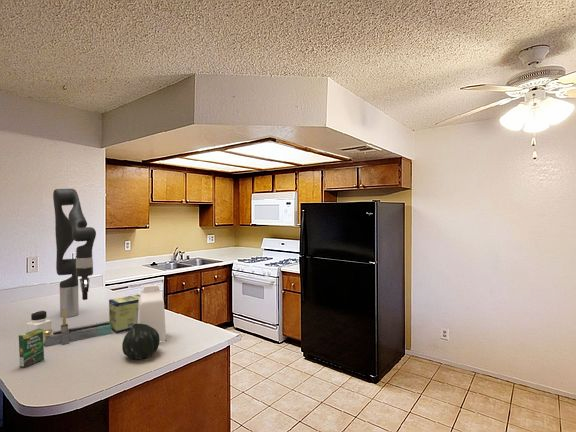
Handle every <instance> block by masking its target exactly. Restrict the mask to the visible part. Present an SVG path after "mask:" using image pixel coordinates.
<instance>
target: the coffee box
mask: <svg viewBox="0 0 576 432" xmlns="http://www.w3.org/2000/svg"><path fill="white" fill-rule="evenodd" d="M44 346H45V345H44V337H43V329H40V328H38V329H36V330H33V331H30V332H27V331H26V332H25V333H22V334H18V350H19V367H20V368H23V369H24V368H25V369H26V368H27V367H30V366H31V365H32V366H33V365H35V364H36V363H40V362H41V361H44V360H45V349H44V348H45V347H44Z"/></svg>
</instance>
